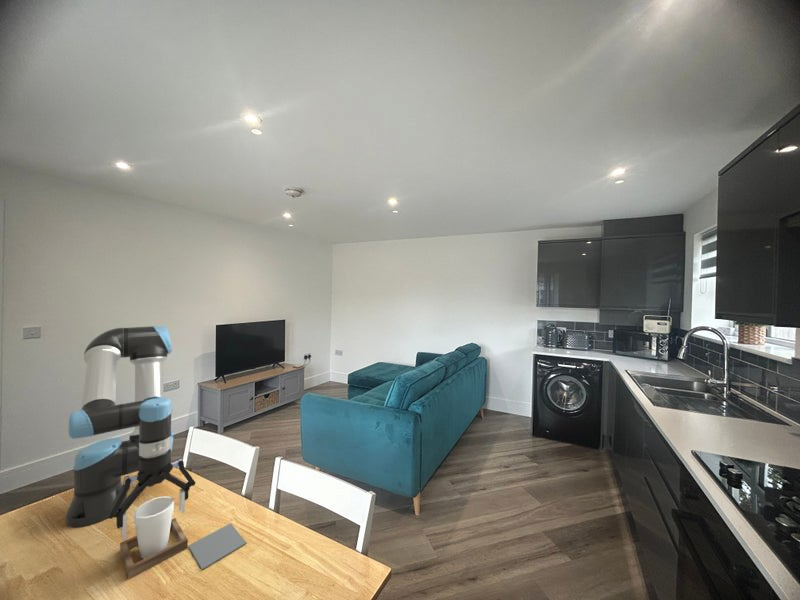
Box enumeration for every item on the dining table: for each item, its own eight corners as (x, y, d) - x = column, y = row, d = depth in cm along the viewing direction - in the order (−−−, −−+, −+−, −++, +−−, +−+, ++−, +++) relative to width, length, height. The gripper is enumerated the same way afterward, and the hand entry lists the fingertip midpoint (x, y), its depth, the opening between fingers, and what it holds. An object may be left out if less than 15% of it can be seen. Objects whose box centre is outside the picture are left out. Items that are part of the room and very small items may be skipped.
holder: (120, 551, 89) (120, 542, 89) (175, 525, 99) (175, 517, 99) (128, 579, 81) (128, 569, 81) (187, 547, 91) (187, 539, 91)
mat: (188, 546, 91) (188, 545, 91) (230, 524, 100) (230, 523, 100) (201, 570, 84) (202, 569, 84) (246, 543, 93) (246, 542, 93)
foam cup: (150, 566, 84) (151, 520, 84) (124, 560, 86) (125, 515, 86) (181, 539, 94) (182, 498, 94) (157, 534, 96) (157, 494, 95)
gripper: (97, 475, 78) (97, 557, 78) (207, 441, 97) (206, 506, 97) (94, 465, 82) (93, 542, 82) (199, 434, 102) (198, 496, 102)
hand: (154, 523), depth 90 cm, fingers open, 13 cm apart
